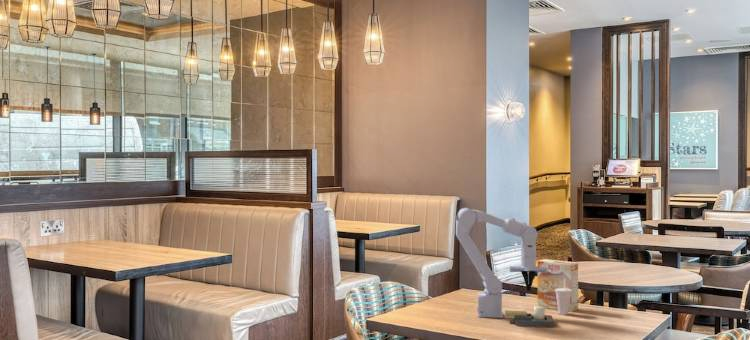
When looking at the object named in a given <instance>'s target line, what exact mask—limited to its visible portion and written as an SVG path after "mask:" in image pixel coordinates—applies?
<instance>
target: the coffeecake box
mask: <svg viewBox="0 0 750 340" xmlns="http://www.w3.org/2000/svg"><path fill="white" fill-rule="evenodd" d="M537 267H547V268H548V273H545V272H537V306H542V307H545V309H550V310H555V311H558V305H557V297H556V292H555V289H557V288H564V279H566V289H571V290H572V293H571V296H570V304H569V312H568V313H573V312H575V311H577V310H579V262H575V261H566V260H557V259H547V258H542V259H539V260H537Z"/></svg>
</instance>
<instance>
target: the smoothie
mask: <svg viewBox="0 0 750 340" xmlns="http://www.w3.org/2000/svg"><path fill="white" fill-rule="evenodd" d="M555 292H556V297H557V305H558V310H557V312H558V314H559V315H562V316H566V315H569V313H570V312H569V304H570V296H571V293H572V290H571V289H566V279H564V288H557V289H555Z"/></svg>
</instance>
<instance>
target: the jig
mask: <svg viewBox="0 0 750 340" xmlns="http://www.w3.org/2000/svg"><path fill="white" fill-rule="evenodd" d="M513 320H514V325H515V327H538V328H539V327H541V328H544V327H545V328H555V320H554V318H553V315H551V314H549V315H548V314H545V320H534V314H532V313H530V312H529V313H528V312H527V316H515V318H513Z"/></svg>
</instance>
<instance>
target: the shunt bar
mask: <svg viewBox="0 0 750 340" xmlns="http://www.w3.org/2000/svg"><path fill="white" fill-rule="evenodd" d="M527 313H528V312H527V311H526V310H504V318H506V319H507V318H508V319H509V318H510V319H514V318H515V316H527Z"/></svg>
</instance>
